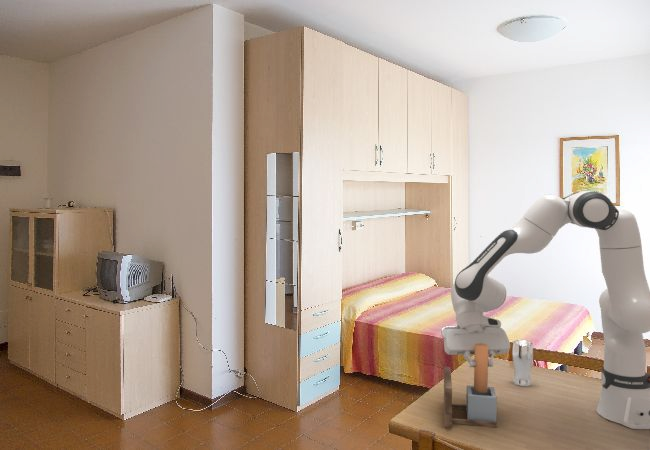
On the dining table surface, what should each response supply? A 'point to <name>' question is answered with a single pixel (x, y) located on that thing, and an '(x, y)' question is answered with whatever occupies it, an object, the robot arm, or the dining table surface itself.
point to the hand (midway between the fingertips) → (481, 366)
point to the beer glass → (522, 362)
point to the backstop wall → (456, 406)
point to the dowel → (481, 368)
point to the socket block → (481, 404)
